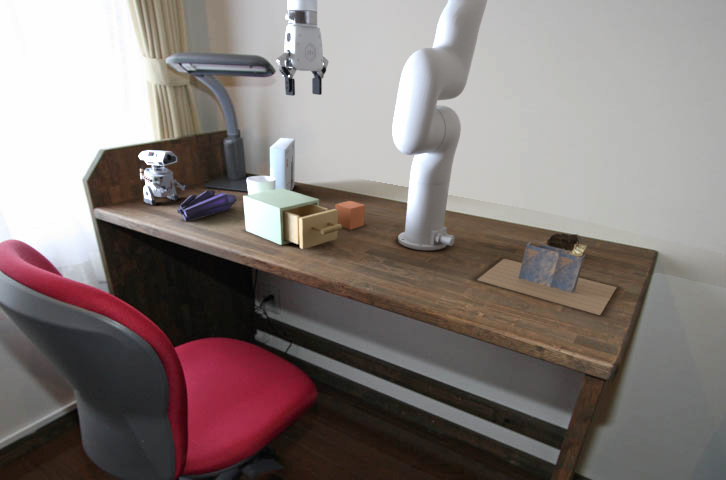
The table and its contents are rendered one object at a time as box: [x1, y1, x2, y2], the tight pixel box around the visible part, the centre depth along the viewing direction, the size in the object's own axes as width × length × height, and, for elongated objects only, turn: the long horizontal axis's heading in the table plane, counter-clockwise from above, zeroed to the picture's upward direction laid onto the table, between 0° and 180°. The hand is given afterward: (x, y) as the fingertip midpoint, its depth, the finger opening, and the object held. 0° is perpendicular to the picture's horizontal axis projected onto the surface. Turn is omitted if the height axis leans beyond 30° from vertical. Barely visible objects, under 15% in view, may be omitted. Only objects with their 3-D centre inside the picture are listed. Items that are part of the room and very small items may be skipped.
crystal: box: [176, 190, 237, 222], centre depth 133 cm, size 7×12×20 cm
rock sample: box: [546, 233, 583, 251], centre depth 117 cm, size 10×8×9 cm
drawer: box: [283, 204, 343, 250], centre depth 115 cm, size 18×11×7 cm, turn 47°
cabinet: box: [242, 188, 320, 246], centre depth 121 cm, size 15×13×9 cm
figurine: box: [137, 149, 189, 206], centre depth 139 cm, size 9×12×15 cm
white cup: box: [246, 175, 276, 195], centre depth 134 cm, size 8×8×10 cm
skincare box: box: [269, 137, 296, 191], centre depth 154 cm, size 21×5×16 cm, turn 179°
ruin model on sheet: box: [476, 241, 618, 316], centre depth 99 cm, size 25×16×10 cm, turn 54°
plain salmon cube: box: [334, 200, 366, 231], centre depth 129 cm, size 6×6×6 cm
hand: (303, 94), depth 130 cm, fingers open, 9 cm apart
